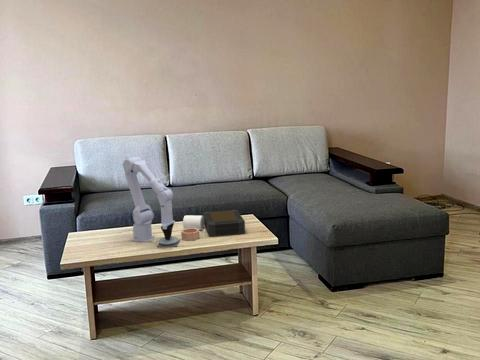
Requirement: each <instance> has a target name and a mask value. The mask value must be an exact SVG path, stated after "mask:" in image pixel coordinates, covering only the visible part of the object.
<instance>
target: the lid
mask: <svg viewBox="0 0 480 360" xmlns="http://www.w3.org/2000/svg"><path fill="white" fill-rule="evenodd" d="M178 239H179V237H177V236H172V234H171V235H170V240H166V239H165V236H163V237H160V238H158V244H159V243H160V244H164V245H168V244H174V243H177V242H178Z"/></svg>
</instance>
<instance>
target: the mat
mask: <svg viewBox="0 0 480 360" xmlns="http://www.w3.org/2000/svg"><path fill="white" fill-rule="evenodd" d="M180 242H181V239H179V238H178V242H177V243H174V244H168V245H164V244H160V243H159V242H158V244H157V245H156V247H157V248H177V247H178V246H179V244H180Z"/></svg>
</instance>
